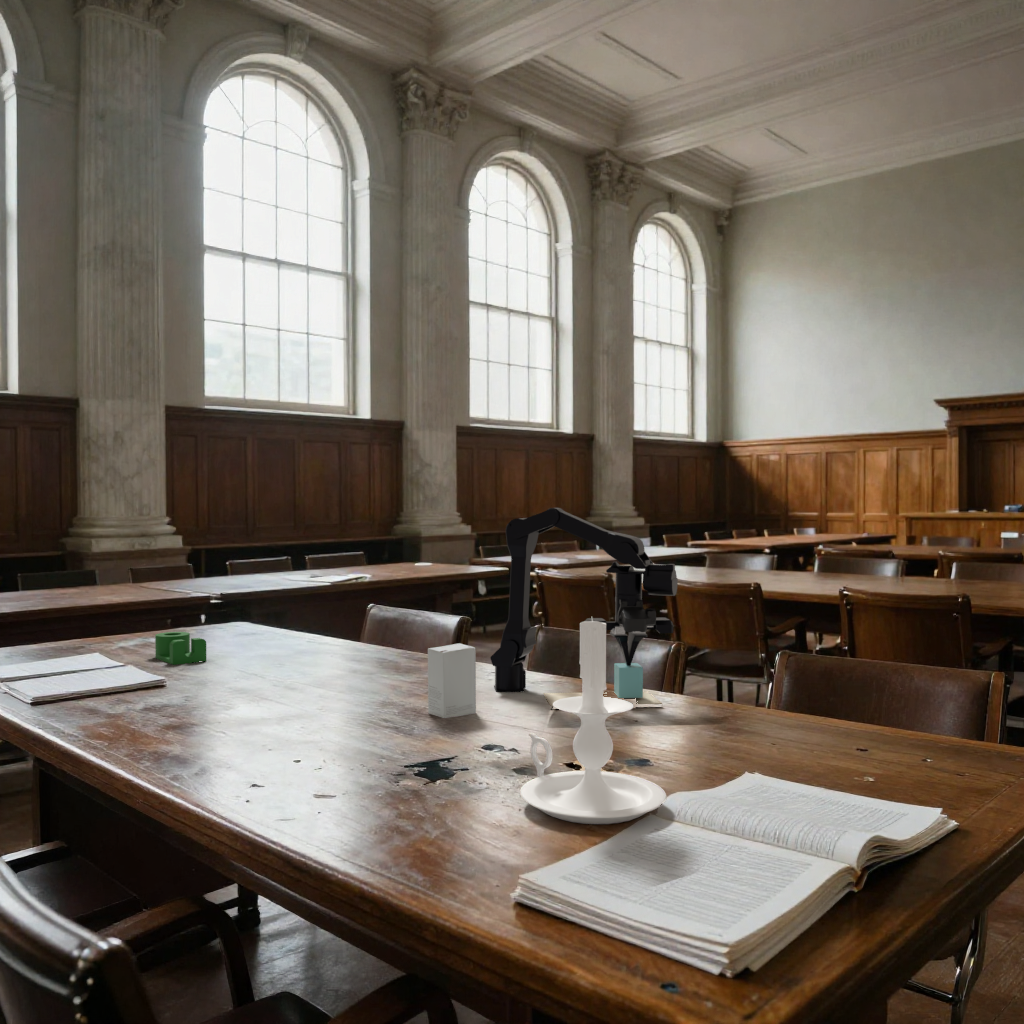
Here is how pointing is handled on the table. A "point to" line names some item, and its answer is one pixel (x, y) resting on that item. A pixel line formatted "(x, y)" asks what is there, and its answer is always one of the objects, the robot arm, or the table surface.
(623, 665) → the teal rectangular block
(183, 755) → the table surface
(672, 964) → the table surface
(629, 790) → the candlestick
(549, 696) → the post stand
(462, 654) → the skincare box
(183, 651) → the slotted cylinder bracket
